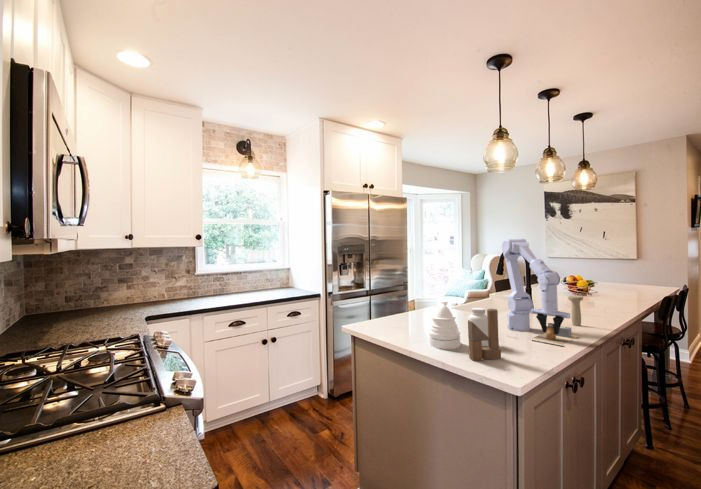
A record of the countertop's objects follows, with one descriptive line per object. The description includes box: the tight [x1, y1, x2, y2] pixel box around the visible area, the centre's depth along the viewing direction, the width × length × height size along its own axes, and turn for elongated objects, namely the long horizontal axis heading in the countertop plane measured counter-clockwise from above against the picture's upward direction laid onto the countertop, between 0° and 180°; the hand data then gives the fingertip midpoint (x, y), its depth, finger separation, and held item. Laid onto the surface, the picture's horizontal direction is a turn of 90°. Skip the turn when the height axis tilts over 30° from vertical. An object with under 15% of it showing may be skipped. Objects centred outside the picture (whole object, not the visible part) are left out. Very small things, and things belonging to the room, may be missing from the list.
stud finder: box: [556, 325, 573, 338], centre depth 145 cm, size 4×7×4 cm, turn 42°
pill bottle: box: [468, 307, 488, 348], centre depth 140 cm, size 8×8×15 cm
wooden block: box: [467, 308, 502, 362], centre depth 123 cm, size 4×11×18 cm, turn 96°
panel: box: [531, 332, 581, 348], centre depth 143 cm, size 20×12×1 cm, turn 128°
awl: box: [546, 322, 556, 340], centre depth 140 cm, size 3×3×6 cm
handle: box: [567, 295, 584, 327], centre depth 161 cm, size 5×6×15 cm
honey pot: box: [428, 300, 461, 350], centre depth 142 cm, size 13×13×18 cm
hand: (550, 333), depth 140 cm, fingers open, 4 cm apart
